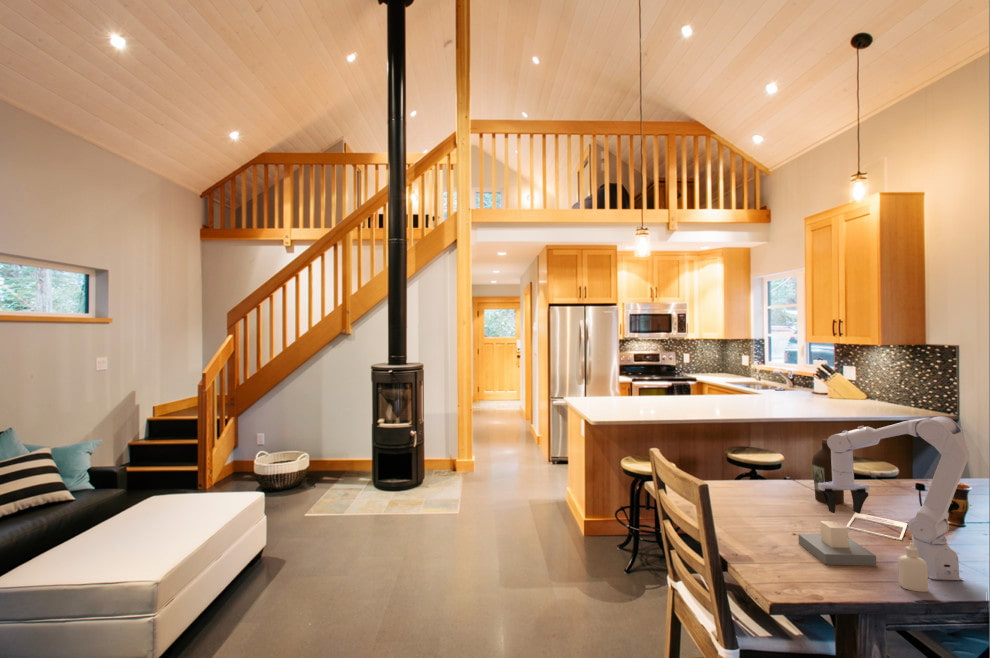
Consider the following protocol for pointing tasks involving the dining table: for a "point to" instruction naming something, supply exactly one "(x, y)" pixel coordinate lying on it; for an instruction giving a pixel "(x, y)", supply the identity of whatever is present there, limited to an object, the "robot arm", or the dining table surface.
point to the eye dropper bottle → (913, 570)
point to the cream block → (834, 534)
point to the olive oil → (824, 473)
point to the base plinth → (837, 551)
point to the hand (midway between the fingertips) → (844, 512)
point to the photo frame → (878, 520)
